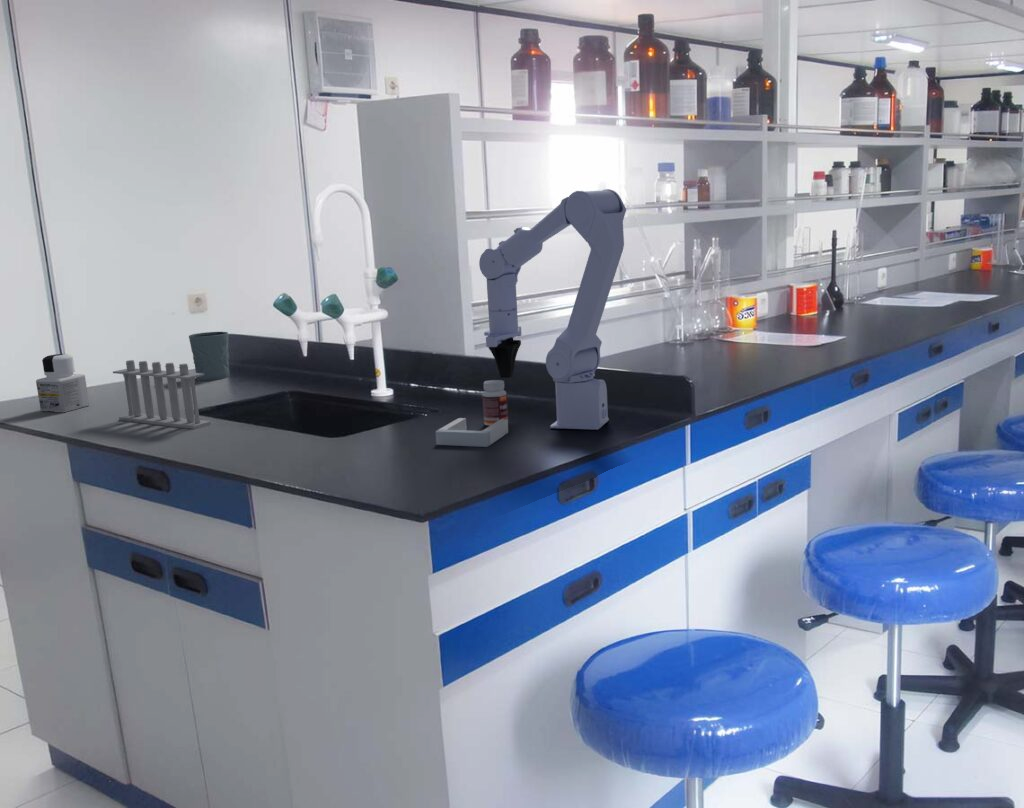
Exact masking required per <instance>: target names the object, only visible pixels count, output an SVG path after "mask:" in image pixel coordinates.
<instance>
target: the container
mask: <svg viewBox="0 0 1024 808" xmlns="http://www.w3.org/2000/svg"><path fill="white" fill-rule="evenodd" d="M73 357H74V356H72V354H70V353H69V354H68V353H59V354H51V355H47V356H45V357H43V358H42V361H41V362H42V369H43V373H44V376H45V377H41V378H37V379H36V380H35V383H36V390H37V396H38V402H39V408H40V412H42V411H54V412H53V413H64V412H65V413H67V412H71V410H72V411H75V409H76V410H79V409H82V408H85V407H89V406H90V400H89V394H88V393H89V392H88V387H87V381H86V374H81V373H75V372H76V370H75V364H74V358H73Z"/></svg>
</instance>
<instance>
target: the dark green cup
mask: <svg viewBox="0 0 1024 808" xmlns="http://www.w3.org/2000/svg"><path fill="white" fill-rule="evenodd" d="M188 339H189V345H190V349H191V353H192V358H193V364H194V370H195V373H203V374H204V376H200V377H196V380H197V381H206V382H207V381H217V380H222V379H223V380H224V379H227V378H229V377H230V363H229V362H230V361H229V360H230V355H229V332H227V331H210V332H209V331H208V332H207V331H206V332H200V333H198V332H197V333H193V334H190V335H188Z"/></svg>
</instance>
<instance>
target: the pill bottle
mask: <svg viewBox="0 0 1024 808" xmlns="http://www.w3.org/2000/svg"><path fill="white" fill-rule="evenodd" d="M504 389H505V380H502V379H492V380H491V379H490V380H485V381H484V382H483V390H484V391H483V392H482V396H481V398H482V410H483V424H484V426H487V427H489V426H490V425H492V424H494V423H495V422H497V421H498V420H500V419H506V420H508V421H509V414H508V413H509V411H508V394H507V391H506V390H504Z"/></svg>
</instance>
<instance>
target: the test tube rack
mask: <svg viewBox="0 0 1024 808" xmlns="http://www.w3.org/2000/svg"><path fill="white" fill-rule="evenodd" d="M148 364H149V363H148V361H146V360H142V361H138V368H136V364H135V360H134V359H130V360H126V361H125V365H126V368H124V369H123V368H122V369H119V370H114V371H112V374H119V375H122V376H123V378H124V385H125V391H126V400H127V406H128V414H126V415H122V416H119V417H118V419H119V421H123V420H125V422H131V421H133V422H132V423H139V422H140V424H141V423H142V424H148V425H150V424H151V425H156V426H165V427H174V428H175V427H176V428H181V429H189V428H190V429H189V430H196V429H195V428H197V429H200V428H203V427H202V426H204V427H206V426H205V425H207V426H209V425H208V424H211V425H212V422H211V421H210V420H205V419H204V420H201V418H200V413H199V405H198V399H197V398H198V397H197V391H196V383H195V382H196V378H197V377H200V376H204V374H203V373H196V372H190V371H189V366H188V363H179V367H178V368H179V371H175V370H176V369H175V365H174V362H166V363H165V366H164V367H165V370H162V364H161V362H160V361H154V362H152V363H151V369H149V368H148ZM137 376H140V381H141V382H140V383H141V389H142V390H141V391H142V397H143V403H144V410H145V413H142V407H141V401H140V400H141V399H140V391H139V384H138V377H137ZM150 377H153V382H154V383H153V384H154V389H155V396H156V404H157V412H158V415H157V414H155V410H154V409H155V408H154V402H153V401H154V400H153V394H152V388H151V387H152V386H151V380H150ZM163 378H166V380H167V388H168V393H169V395H168V396H169V403H170V408H171V415H172V416H168V409H167V408H168V407H167V403H166V394H165V386H164V380H163ZM177 379H180V382H181V383H180V384H181V389H182V390H181V391H182V397H183V398H182V399H183V406H184V414H185V418H184V417H182V416H181V415H182V414H181V409H180V408H181V407H180V401H179V393H178V385H177ZM199 427H200V428H199Z"/></svg>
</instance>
